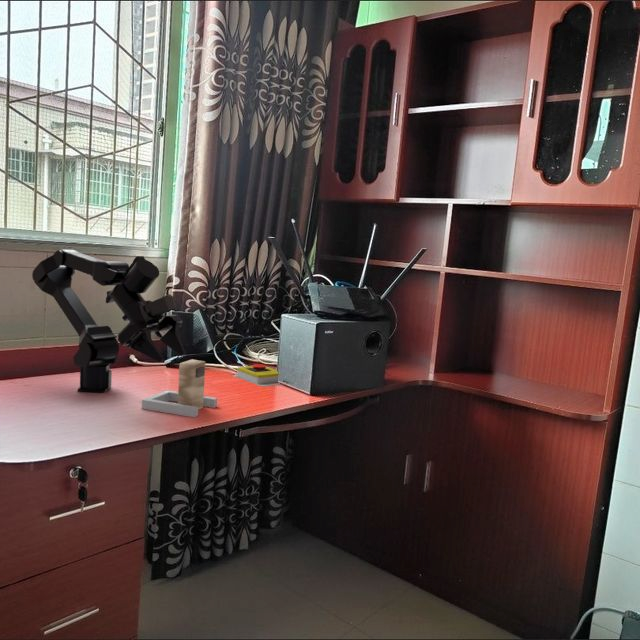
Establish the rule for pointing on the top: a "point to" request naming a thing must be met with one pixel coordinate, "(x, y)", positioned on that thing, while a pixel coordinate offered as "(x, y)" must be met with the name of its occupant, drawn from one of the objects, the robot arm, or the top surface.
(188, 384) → the beige rectangular block
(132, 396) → the top surface
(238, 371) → the emergency button
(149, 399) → the shallow open frame
